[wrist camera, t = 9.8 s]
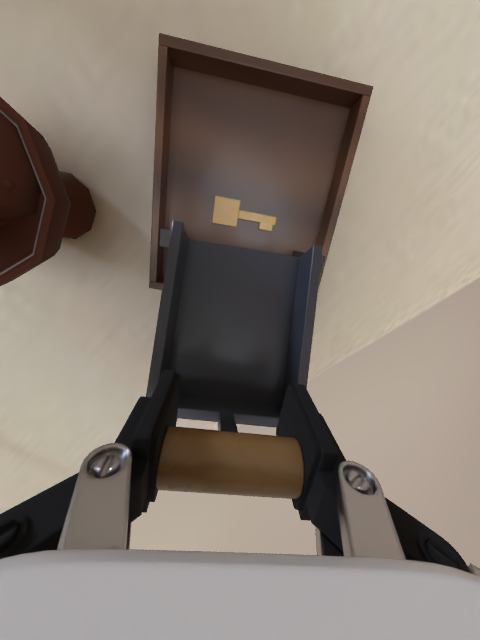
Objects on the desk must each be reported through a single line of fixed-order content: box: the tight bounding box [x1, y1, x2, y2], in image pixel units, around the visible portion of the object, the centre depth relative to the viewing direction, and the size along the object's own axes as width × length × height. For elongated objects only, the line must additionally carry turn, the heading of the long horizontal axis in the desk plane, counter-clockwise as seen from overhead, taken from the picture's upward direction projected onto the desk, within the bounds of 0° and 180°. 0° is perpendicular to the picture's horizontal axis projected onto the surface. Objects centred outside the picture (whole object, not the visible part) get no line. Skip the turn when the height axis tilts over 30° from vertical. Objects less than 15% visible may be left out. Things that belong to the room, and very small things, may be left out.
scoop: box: [146, 220, 323, 499], centre depth 12 cm, size 12×9×8 cm
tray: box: [149, 33, 373, 290], centre depth 18 cm, size 17×15×7 cm
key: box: [212, 196, 277, 231], centre depth 21 cm, size 6×2×1 cm, turn 80°
